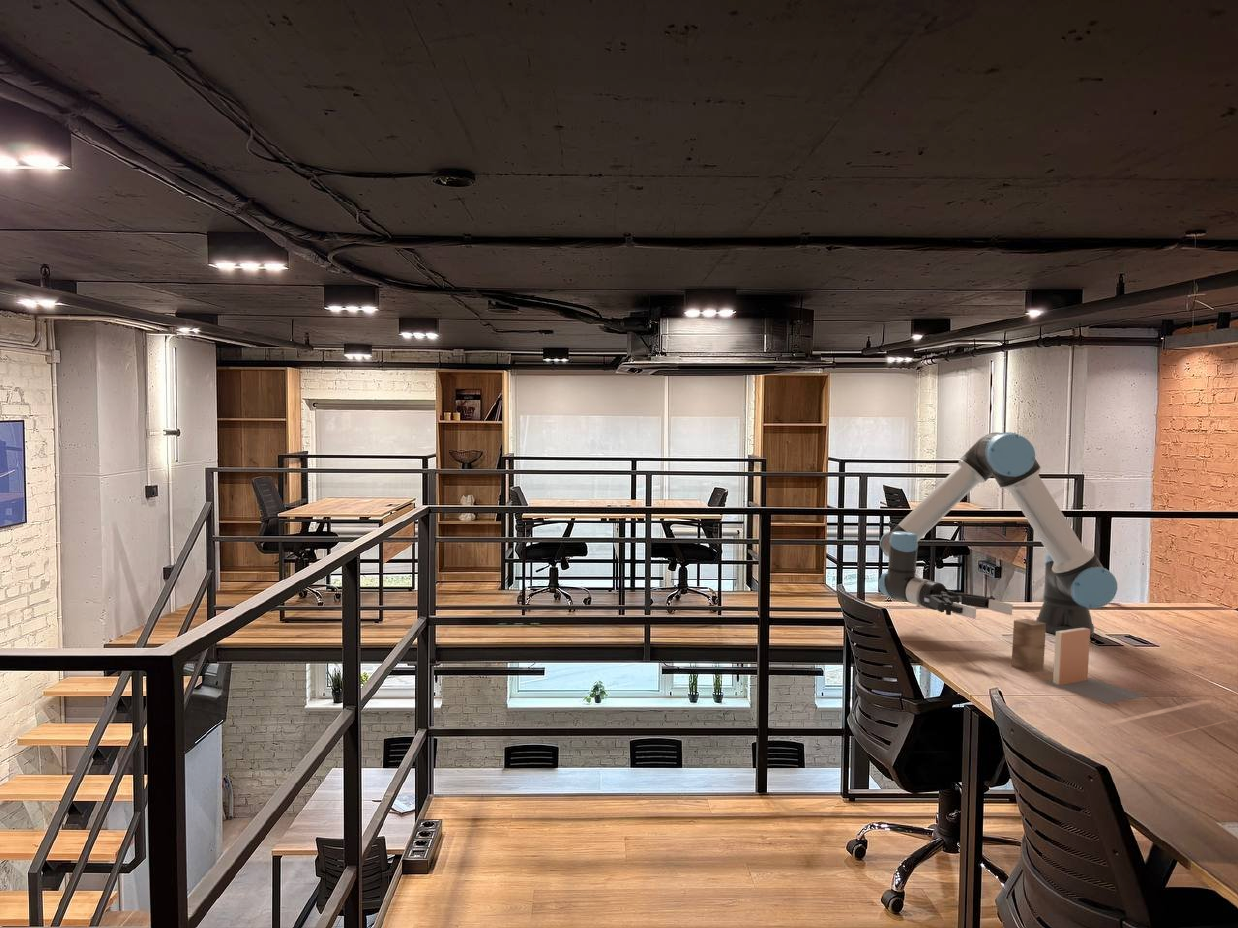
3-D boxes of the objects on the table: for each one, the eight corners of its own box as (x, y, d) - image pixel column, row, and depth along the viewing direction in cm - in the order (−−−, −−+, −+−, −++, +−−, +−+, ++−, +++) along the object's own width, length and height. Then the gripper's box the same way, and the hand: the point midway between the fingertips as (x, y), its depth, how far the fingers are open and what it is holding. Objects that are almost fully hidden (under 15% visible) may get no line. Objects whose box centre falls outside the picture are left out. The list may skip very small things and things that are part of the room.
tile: (1052, 682, 189) (1055, 631, 188) (1080, 677, 194) (1083, 627, 193) (1059, 684, 187) (1062, 633, 187) (1087, 679, 192) (1090, 629, 191)
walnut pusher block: (1011, 668, 201) (1013, 620, 201) (1024, 666, 204) (1027, 618, 203) (1029, 674, 197) (1032, 625, 196) (1043, 672, 199) (1046, 623, 199)
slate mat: (1043, 685, 189) (1043, 682, 189) (1082, 678, 195) (1082, 675, 195) (1107, 706, 175) (1108, 703, 175) (1147, 697, 182) (1147, 695, 182)
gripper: (958, 604, 233) (1024, 622, 214) (893, 610, 222) (957, 629, 203) (959, 578, 233) (1027, 594, 214) (895, 582, 221) (959, 599, 203)
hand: (993, 611), depth 208 cm, fingers open, 13 cm apart
